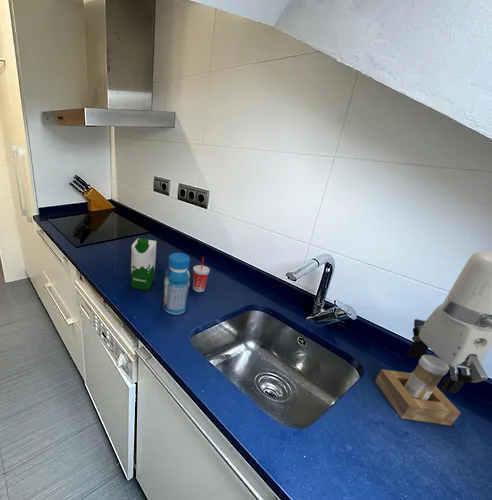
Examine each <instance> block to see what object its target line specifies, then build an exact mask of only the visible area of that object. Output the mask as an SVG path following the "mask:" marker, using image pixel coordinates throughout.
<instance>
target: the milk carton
mask: <svg viewBox="0 0 492 500" xmlns="http://www.w3.org/2000/svg"><path fill="white" fill-rule="evenodd" d="M130 255H131V256H130V257H131V258H130V259H131V260H130V262H131V263H130V287H131V288H133V289H138V290H143V291H148V292H149V291H150V289H151V287H152V285H153V283H154V280H155V279H154V278H155V273H156V259H157V240H152V239H148V238H144V237H140V238H138V237H137V239H135V240H134V242H133V243H132V244H131V254H130Z"/></svg>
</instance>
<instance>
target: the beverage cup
mask: <svg viewBox="0 0 492 500" xmlns="http://www.w3.org/2000/svg"><path fill="white" fill-rule="evenodd" d="M204 258H205V257H204V256H202V258H201V264H198V265H194V266H193V268H192V269H193V270H192V271H193V278H192V290H193V291H195V292H197V293H203V292H205V290H206V286H207V280H208V276H209V274H210V271H211V270H210V267H208V266H206V265H204V260H205V259H204Z"/></svg>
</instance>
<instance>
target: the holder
mask: <svg viewBox="0 0 492 500" xmlns="http://www.w3.org/2000/svg"><path fill="white" fill-rule="evenodd" d="M412 373H413V372H405V371H398V370H390V369H383V368H382V369H380V371H379V372H378V374H377V377H376V379H375V380H374V382H375V384H376V386H378V388H379V389H380V391H381V392H382V394H383V395H384V396H385V397H386V399H387V401H388V402H389V403H390V405H391V406H392V408H393V409H394V410H395V411H396V413H397V414H398V416H399V417H400V418H401V419H404V420H411V421H417V422H422V423H423V422H424V423H430V424H438V425H446V426H452V425H453V424H454V423H455V421H456V420H457V418H458V417H459V416H460V415H461V411H460V410H459V409H458V408H457V407H456V406H455V405H454V404H453V403H452V402H451V400H449V398H448V397H446V395H445V394H444V392H443V391H440V390H439V389H438V387H437V386H436V388H435V389H434V391H433V392H432V394H431V395H430V397H429V399H428V400H421V399H413V398H412V396H411V395H410V394H409V393H408V391H407V390H406V389H405V388H404V386H405V384H406V383H407V381H408V379H409V378H410V376H411V374H412Z"/></svg>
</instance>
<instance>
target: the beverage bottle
mask: <svg viewBox="0 0 492 500" xmlns="http://www.w3.org/2000/svg"><path fill="white" fill-rule="evenodd" d="M190 262H191V258H190V256H189V255H187V254H186V253H183V252H173V253H171V254H169V257H168V262H167V263H168V268H167V269H166V271H165V274H164V276H165V278H164V282H163V285H164V287H163V288H164V290H163V300H162V309H163V310H164V311H165V312H166V313H168V314H170V315H181V314H184V313H185V311H186V310H187V303H188V302H187V301H188V294H189V288H190V285H191V284H190V283H191V282H190V280H191V274H190V271H189V267H190V264H191V263H190Z"/></svg>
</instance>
